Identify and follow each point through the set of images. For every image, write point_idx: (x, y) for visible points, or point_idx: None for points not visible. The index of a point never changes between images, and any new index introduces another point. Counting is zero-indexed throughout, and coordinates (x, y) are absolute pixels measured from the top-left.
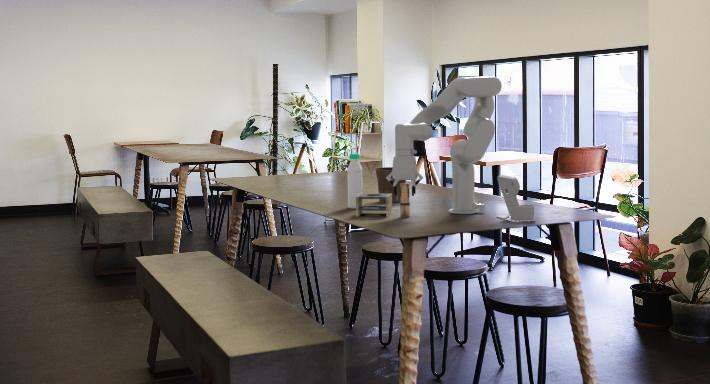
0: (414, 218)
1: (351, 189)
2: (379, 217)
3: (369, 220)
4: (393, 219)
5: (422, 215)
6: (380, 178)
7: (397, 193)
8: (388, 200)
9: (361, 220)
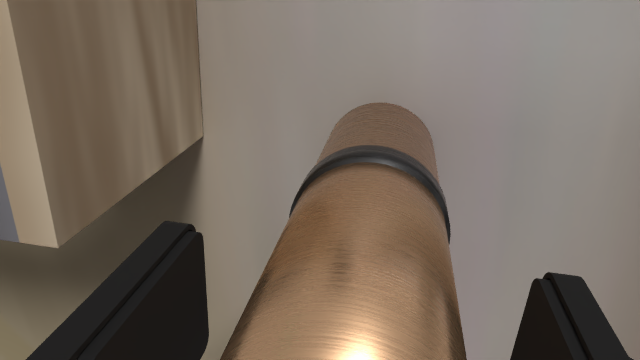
0: (478, 273)
1: None
2: None
3: None
4: None
5: (612, 51)
6: None
7: (189, 294)
8: (98, 205)
9: (36, 320)
